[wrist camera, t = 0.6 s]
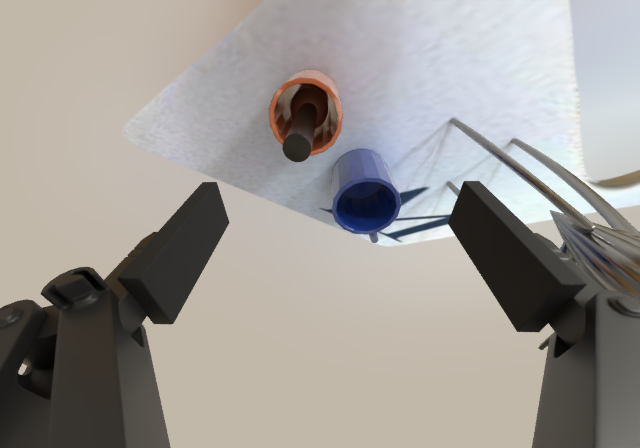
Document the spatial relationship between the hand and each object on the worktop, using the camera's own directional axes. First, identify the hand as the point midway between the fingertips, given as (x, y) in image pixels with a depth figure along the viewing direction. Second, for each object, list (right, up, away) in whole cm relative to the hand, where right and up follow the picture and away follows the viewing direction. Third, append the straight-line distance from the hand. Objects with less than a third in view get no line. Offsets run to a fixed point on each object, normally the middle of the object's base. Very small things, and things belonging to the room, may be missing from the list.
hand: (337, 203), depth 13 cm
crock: (-2, +16, +21) cm, 26 cm away
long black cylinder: (-2, +15, +20) cm, 26 cm away
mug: (+6, +6, +28) cm, 30 cm away
